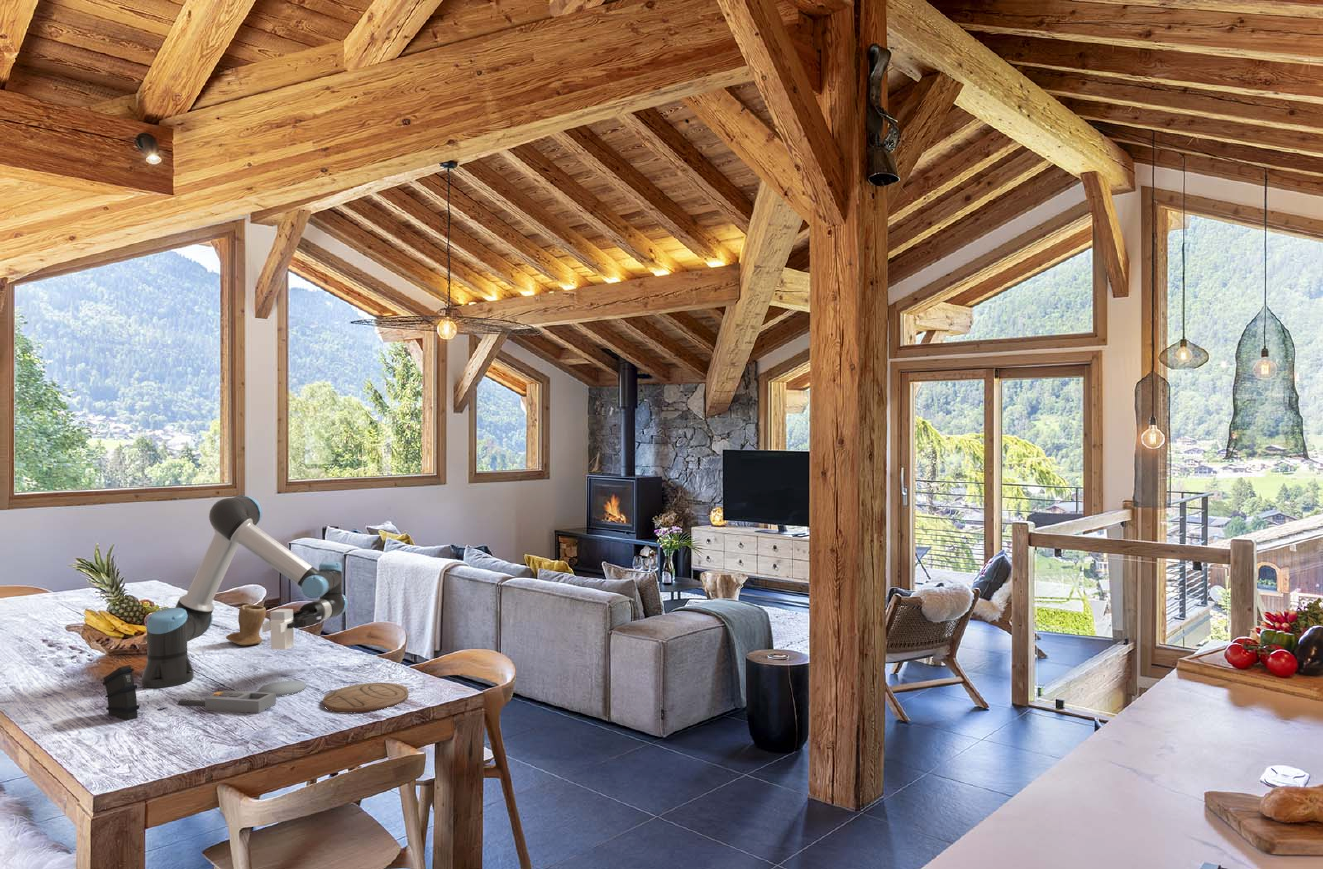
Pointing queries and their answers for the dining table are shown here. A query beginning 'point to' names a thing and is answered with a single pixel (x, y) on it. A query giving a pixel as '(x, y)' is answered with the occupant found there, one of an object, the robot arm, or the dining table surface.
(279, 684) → the mat
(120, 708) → the magazine
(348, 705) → the trivet
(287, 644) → the block
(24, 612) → the dining table surface
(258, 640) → the brown boot
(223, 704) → the power strip
